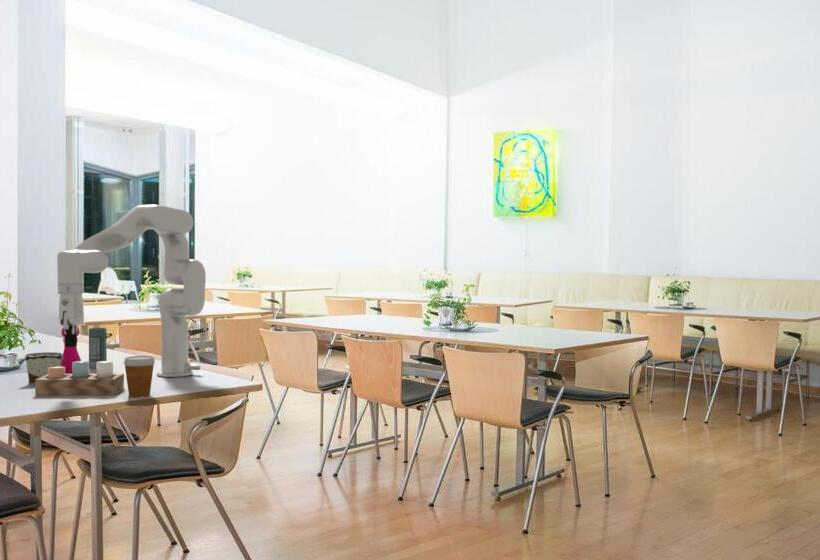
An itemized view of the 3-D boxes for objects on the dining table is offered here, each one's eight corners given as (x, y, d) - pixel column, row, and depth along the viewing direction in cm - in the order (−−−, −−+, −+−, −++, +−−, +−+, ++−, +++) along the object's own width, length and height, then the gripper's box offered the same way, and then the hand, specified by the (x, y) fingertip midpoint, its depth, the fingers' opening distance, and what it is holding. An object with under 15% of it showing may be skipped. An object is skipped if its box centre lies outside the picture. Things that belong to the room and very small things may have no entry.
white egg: (114, 380, 268) (114, 361, 268) (110, 383, 264) (110, 363, 263) (99, 380, 268) (98, 361, 268) (94, 383, 263) (94, 363, 263)
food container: (64, 379, 289) (64, 351, 288) (63, 382, 283) (63, 353, 282) (25, 381, 284) (25, 352, 284) (24, 384, 278) (24, 354, 278)
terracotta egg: (67, 386, 267) (67, 366, 267) (62, 388, 262) (62, 368, 262) (51, 386, 267) (51, 366, 267) (45, 388, 262) (45, 368, 262)
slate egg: (91, 380, 268) (91, 361, 268) (86, 383, 263) (86, 363, 263) (75, 380, 267) (75, 361, 267) (70, 383, 262) (70, 363, 262)
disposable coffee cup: (118, 395, 260) (118, 357, 260) (146, 391, 267) (146, 354, 266) (132, 399, 253) (132, 360, 253) (160, 395, 260) (160, 357, 260)
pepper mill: (73, 377, 295) (73, 321, 294) (55, 376, 296) (55, 320, 295) (85, 374, 302) (85, 319, 301) (67, 373, 303) (67, 319, 302)
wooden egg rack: (123, 388, 272) (123, 373, 272) (114, 395, 260) (114, 379, 260) (48, 388, 270) (48, 373, 270) (35, 395, 258) (35, 379, 258)
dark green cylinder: (108, 366, 322) (108, 328, 321) (101, 368, 316) (101, 329, 315) (94, 366, 322) (93, 327, 322) (86, 368, 316) (86, 329, 316)
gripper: (74, 290, 256) (75, 349, 257) (89, 288, 271) (90, 343, 272) (49, 290, 256) (50, 349, 257) (66, 288, 271) (67, 343, 272)
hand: (71, 346), depth 265 cm, fingers closed
